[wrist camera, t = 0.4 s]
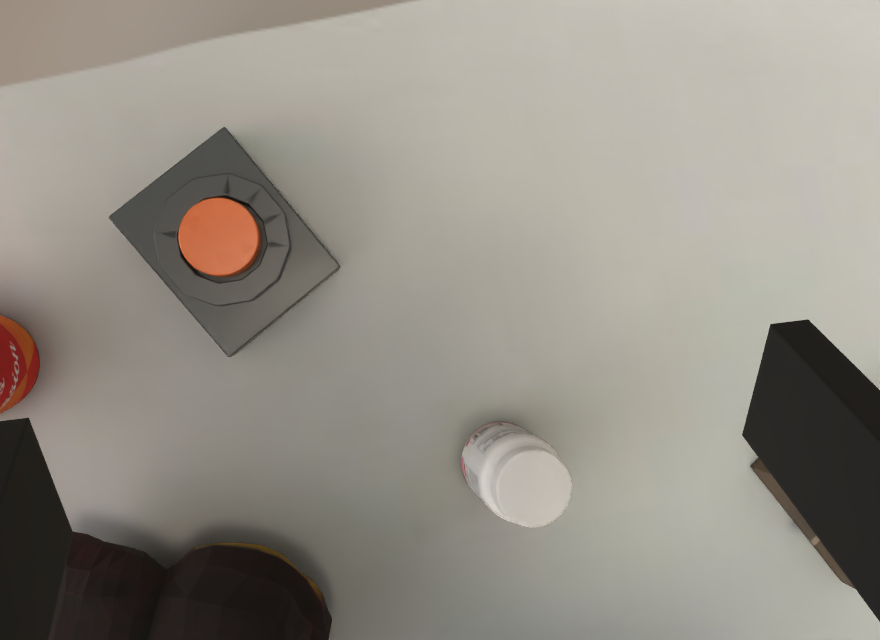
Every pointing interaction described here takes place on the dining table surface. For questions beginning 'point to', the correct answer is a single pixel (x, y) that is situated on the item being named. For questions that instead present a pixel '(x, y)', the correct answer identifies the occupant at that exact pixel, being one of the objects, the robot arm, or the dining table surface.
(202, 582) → the figurine
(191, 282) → the button box
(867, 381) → the robot arm
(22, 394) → the paper cup
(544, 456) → the pill bottle
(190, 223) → the button
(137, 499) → the dining table surface
